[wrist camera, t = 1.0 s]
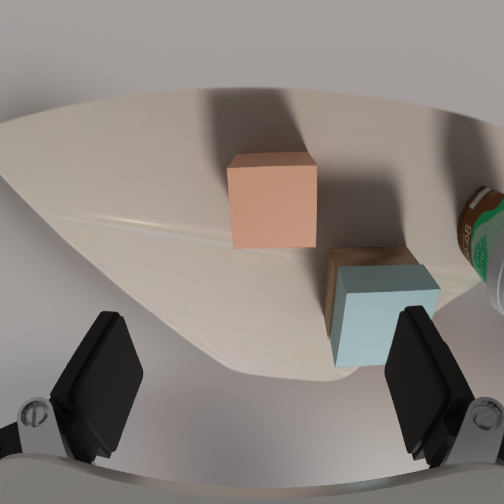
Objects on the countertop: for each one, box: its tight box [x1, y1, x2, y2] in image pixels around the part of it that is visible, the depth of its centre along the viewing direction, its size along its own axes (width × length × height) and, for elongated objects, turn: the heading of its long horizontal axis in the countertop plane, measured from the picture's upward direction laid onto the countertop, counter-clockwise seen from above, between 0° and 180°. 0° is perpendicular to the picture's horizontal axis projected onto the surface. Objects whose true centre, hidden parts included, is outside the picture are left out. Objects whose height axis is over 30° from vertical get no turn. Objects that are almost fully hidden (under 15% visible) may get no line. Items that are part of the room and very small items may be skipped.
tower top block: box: [330, 264, 441, 368], centre depth 26 cm, size 8×8×4 cm
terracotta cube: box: [227, 152, 317, 249], centre depth 25 cm, size 6×6×6 cm
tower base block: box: [324, 246, 420, 339], centre depth 30 cm, size 8×8×4 cm
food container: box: [458, 186, 504, 315], centre depth 24 cm, size 12×6×10 cm, turn 33°
